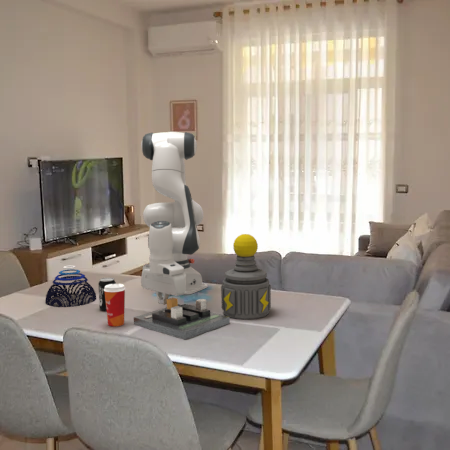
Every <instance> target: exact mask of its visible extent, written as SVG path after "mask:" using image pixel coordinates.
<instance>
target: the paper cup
mask: <svg viewBox="0 0 450 450" xmlns="http://www.w3.org/2000/svg"><path fill="white" fill-rule="evenodd" d="M104 291H105V300H106V310H107V311H106V319H107V325H108V326H109V327H113V328H114V327H120V326H123V325H124V324H125V298H126V287H125V285H124V284H123V283H116V284H109V285H106V286H105V288H104Z"/></svg>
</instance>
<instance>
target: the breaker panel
mask: <svg viewBox="0 0 450 450" xmlns="http://www.w3.org/2000/svg"><path fill="white" fill-rule="evenodd" d="M207 303H208V302H207V299H204V298H199V299H197V300H195V305H191V304H187V303H183V304H179V303H178V306H175V307H172V308H171V310H170V309H167V307H164V308H162V309H158V310H154V311H152V312H151V311H150V312H148V313H144V314H141V315H137V316H133V325H135V326H139V327H142V328H144V329H148V330H153V331H156V332H159V333H161V334H164V335H169V336H172V337H175V338H179V339H183V340H188V339H192V338H194V337H196V336H199V335H202V334H204V333H207V332H210V331H213V330H217V329H218V328H221V327H224V326H226V325H230V321H231V319H230V318H231V317H229V316H226V315H225V314H221V313H217V312H212V311H211V309H208V304H207Z"/></svg>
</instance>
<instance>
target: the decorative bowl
mask: <svg viewBox="0 0 450 450" xmlns="http://www.w3.org/2000/svg"><path fill="white" fill-rule="evenodd" d="M62 268H63V270H60V271H58V274H57V275H56V276H55V277H54V280H53V281H52V285H50V286H49V287H48V290H47V292H46V294H45V300H44V301H45V304H46V305H47V306H51V307H54V308H70V307H71V308H72V307H80V305H81V306H84V305H85V306H86V305H88V304H91V303H93V302H95V301H96V300H97V294H96V291H95V289H94V287H92V285H91V284H90V283H89V282H88V281H89V279H88V277H86V275H85V274H83V273H81V270H79V269H76V268H77V266H76V265H65V266H63V267H62ZM74 268H75V269H74ZM70 271H73V272H70ZM57 281H59V282H57ZM61 281H62V282H61ZM69 281H70V282H69ZM71 281H72V282H71ZM67 286H68V287H67ZM73 296H74V298H73ZM91 300H92V301H91ZM90 301H91V302H90ZM55 304H56V306H55Z"/></svg>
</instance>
